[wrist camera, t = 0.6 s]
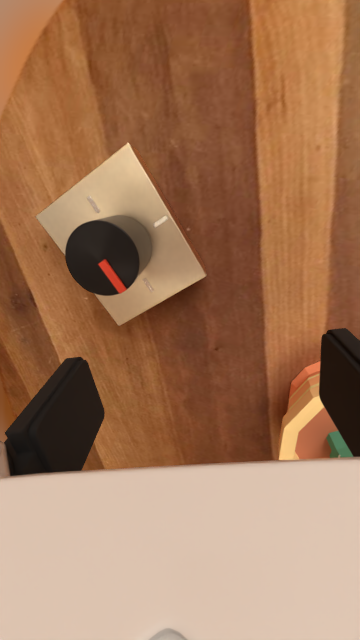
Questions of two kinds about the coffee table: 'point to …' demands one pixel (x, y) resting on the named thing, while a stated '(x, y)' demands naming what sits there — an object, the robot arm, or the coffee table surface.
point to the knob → (108, 254)
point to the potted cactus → (309, 422)
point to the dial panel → (142, 205)
